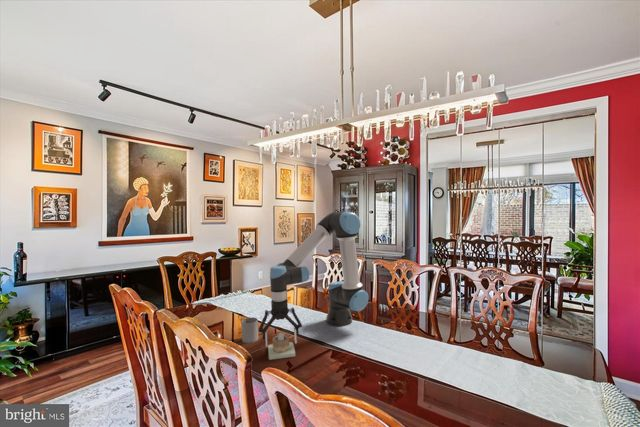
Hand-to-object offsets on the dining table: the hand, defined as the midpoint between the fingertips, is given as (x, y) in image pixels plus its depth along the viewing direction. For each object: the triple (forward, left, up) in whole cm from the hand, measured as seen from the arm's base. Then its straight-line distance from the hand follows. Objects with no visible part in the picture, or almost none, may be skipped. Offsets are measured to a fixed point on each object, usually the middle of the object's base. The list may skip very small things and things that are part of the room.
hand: (281, 344), depth 144 cm
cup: (+15, -19, -4) cm, 25 cm away
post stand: (0, 0, -4) cm, 4 cm away
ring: (0, 0, -2) cm, 2 cm away
